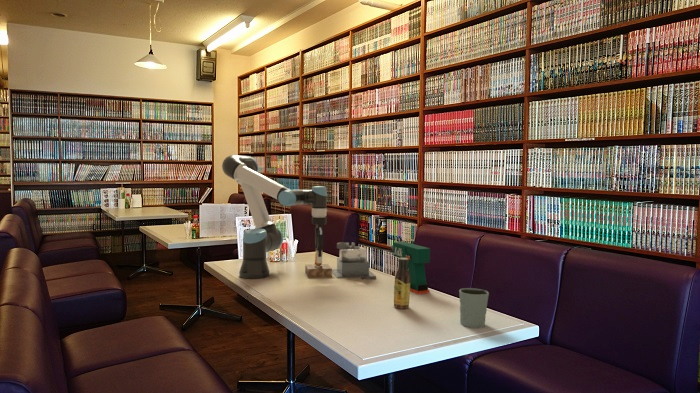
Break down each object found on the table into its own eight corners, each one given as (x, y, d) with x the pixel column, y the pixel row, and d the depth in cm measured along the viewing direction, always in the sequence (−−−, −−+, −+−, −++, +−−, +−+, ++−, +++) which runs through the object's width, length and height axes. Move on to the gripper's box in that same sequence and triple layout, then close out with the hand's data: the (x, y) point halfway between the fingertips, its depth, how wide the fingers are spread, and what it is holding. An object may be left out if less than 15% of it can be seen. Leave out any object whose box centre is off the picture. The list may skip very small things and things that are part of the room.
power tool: (381, 279, 243) (382, 239, 242) (393, 278, 246) (394, 239, 245) (416, 294, 214) (417, 249, 213) (429, 292, 217) (430, 248, 216)
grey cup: (452, 323, 172) (453, 290, 172) (468, 318, 180) (469, 286, 179) (478, 330, 165) (479, 296, 165) (492, 324, 172) (494, 291, 172)
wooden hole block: (307, 279, 239) (308, 269, 239) (305, 274, 251) (305, 264, 251) (331, 278, 242) (331, 268, 242) (327, 273, 254) (328, 264, 253)
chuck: (334, 260, 245) (334, 243, 245) (341, 256, 259) (341, 240, 258) (362, 262, 241) (363, 245, 241) (368, 258, 255) (369, 241, 254)
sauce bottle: (390, 305, 194) (392, 257, 193) (404, 304, 196) (406, 256, 195) (398, 310, 188) (399, 259, 187) (412, 309, 190) (413, 259, 189)
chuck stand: (337, 280, 238) (337, 264, 238) (330, 271, 258) (330, 257, 258) (376, 279, 242) (376, 263, 242) (366, 270, 262) (366, 256, 262)
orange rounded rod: (314, 274, 244) (316, 251, 244) (313, 273, 248) (315, 250, 247) (321, 275, 245) (323, 251, 245) (320, 273, 249) (322, 250, 248)
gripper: (329, 218, 238) (328, 265, 239) (324, 215, 254) (323, 259, 255) (314, 218, 236) (313, 265, 237) (309, 215, 252) (309, 259, 254)
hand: (318, 262), depth 246 cm, fingers closed on orange rounded rod, 3 cm apart
